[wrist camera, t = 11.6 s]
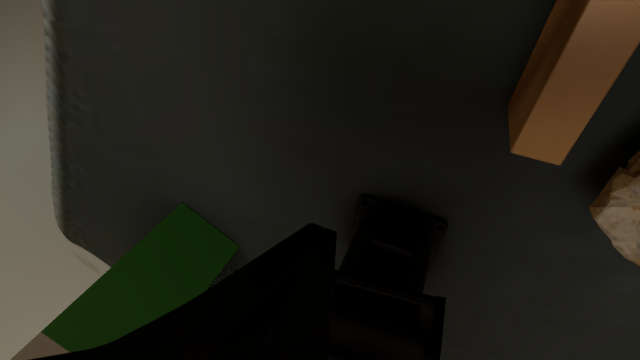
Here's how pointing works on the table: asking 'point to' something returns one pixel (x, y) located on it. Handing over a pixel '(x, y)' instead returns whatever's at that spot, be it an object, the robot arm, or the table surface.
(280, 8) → the table surface
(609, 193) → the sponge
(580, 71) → the back rail
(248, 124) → the table surface
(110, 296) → the hardback book
